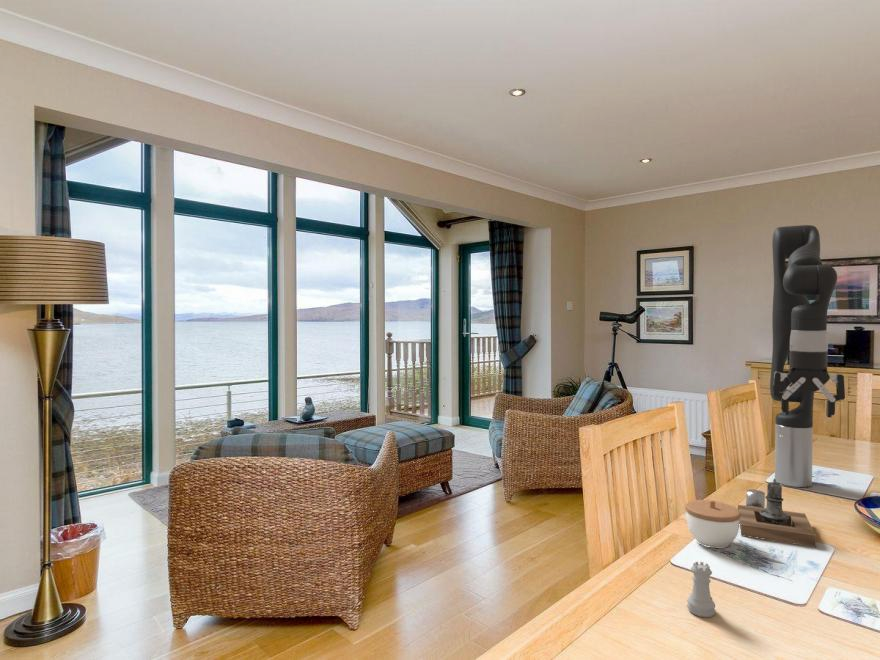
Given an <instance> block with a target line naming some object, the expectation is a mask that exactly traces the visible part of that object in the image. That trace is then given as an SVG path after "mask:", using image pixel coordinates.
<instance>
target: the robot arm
mask: <svg viewBox="0 0 880 660" xmlns="http://www.w3.org/2000/svg"><path fill="white" fill-rule="evenodd" d="M771 245H772V263H773V264H772V267H773V292H772V293H773V294H772V295H773V296H772V298H773V299H772V310H771V311H772V312H771V313H772V316H771V318H772V319H771V321H772V323H771V324H772V328H771V329H772V354H771V368H770V369H771V370H770V380H769V381H770V382H769V392H770V396H771V398H772V401H773V400H774V401H776V402H781V403H780V404H781V405H780V407H781V408H780V409H781V411H782V412H778V413H777V414H775V418H774V419H775V421H774V422H775V423H774V424H775V426H774V427H775V429H774V430H775V433H774V434H775V442H774V445H775V446H774V450H775V451H774V479H776V482H777V483H779V484H780V485H781V484H782V485H784V486H788V487H795V488H808V487H807V486H810V487H811V485H812V486H813V447H814V446H813V443H814V441H813V440H814V437H813V436H814V435H813V434H814V432H813V428H814V423H813V422H814V398H815V392H819V391H820V392H821V393H822V395H824V396H825V398H826V399H827V400H826V405H825V406H826V411H825V412H826V417H827V418H831V419H832V416H834V415H835V414H836V402H837V401H838V402H839V401H844V400H845V398H846V392H845V391H846V389H845V376H844V375H843V374H842V373H840V372H838V373H835V374H833V373H831V374H829V373H828V350H829V345H828V343H829V340H828V339H829V337H828V333H827V329H828V328H827V323H828V310H829V304H830V301H831V298H832V295H833V293H834V290H835V288H836V285H837V282H838V274H837V271H836V269H835V268H834V266H832V265H829V264H823V262H822V260H821V257H820V255H821V235H820V233H819V229H818V228H817V227H816V226H815V225H812V224H809V225H808V224H804V225H803V224H802V225H801V224H800V225H790V226H789V225H788V226H779V227H776V228H775V229H774V231H773V234H772V244H771ZM787 259H788V261H787V263H786V260H787ZM815 295H816V296H817V297H816V299H815V300H814V301H813V302H810V301H809V299H808V298H807V296H815ZM788 358H789V365H788V366H789V369H788V370H785V369H784V368H785V364H786V363H787V360H788ZM829 380H832V382H833V383H834V384H835V388H836V389H835V392H836V394H832V393H831V392H830V390H828V389H827V387H826V386H825V385H826V384H827V382H829ZM789 402H790V403H799V405H798V406H797V407H795V408H792V409H790V408H789V407H790V406H789V405H790V404H789Z"/></svg>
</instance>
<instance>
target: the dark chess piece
mask: <svg viewBox="0 0 880 660" xmlns="http://www.w3.org/2000/svg"><path fill="white" fill-rule="evenodd" d="M766 491H767V493H766V495H765V500H766V507H765V508H766V509H765V510H761V511H760V514H761V518H762V520H763V521H764V522H765V523H767V524H774V525H781V526H784V525H786V523H787V519H789V516H788V515H787V514H785V513H783V511H784V510H783V501H784V498H783V497H782V496H783V494H782V493H783V487H782V485H781V484H780V483H778V482H776V479H775V478H773V479H772V482H771V481H770V482H768V484H767V487H766Z"/></svg>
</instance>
